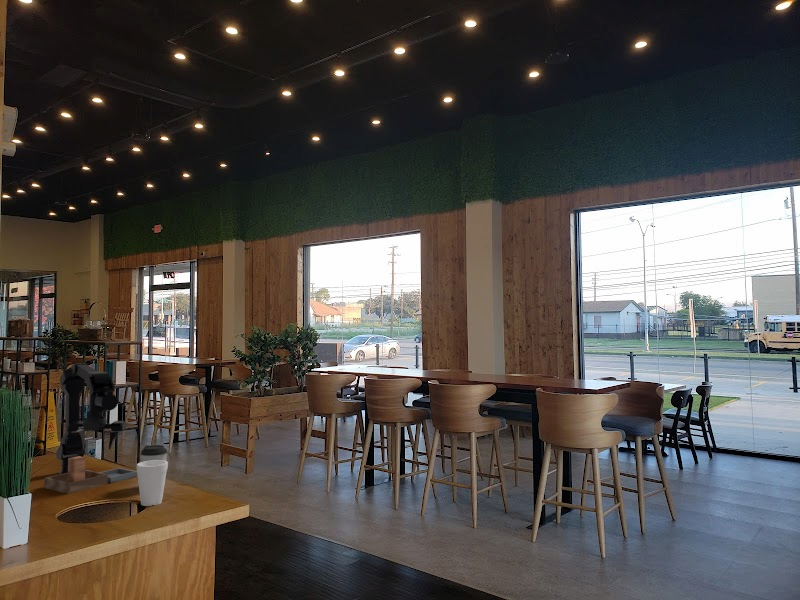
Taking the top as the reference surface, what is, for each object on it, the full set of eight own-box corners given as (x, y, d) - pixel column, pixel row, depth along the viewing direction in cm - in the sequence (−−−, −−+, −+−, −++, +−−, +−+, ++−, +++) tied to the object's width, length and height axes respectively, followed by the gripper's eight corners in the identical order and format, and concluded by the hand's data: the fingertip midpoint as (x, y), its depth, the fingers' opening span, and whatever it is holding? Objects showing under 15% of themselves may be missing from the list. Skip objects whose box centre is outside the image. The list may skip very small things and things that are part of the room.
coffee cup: (171, 484, 215) (172, 443, 215) (158, 491, 206) (159, 448, 206) (147, 483, 215) (148, 443, 216) (134, 490, 206) (135, 448, 207)
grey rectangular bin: (93, 480, 219) (93, 473, 220) (119, 474, 229) (119, 467, 229) (110, 484, 214) (111, 477, 214) (137, 478, 223) (137, 471, 224)
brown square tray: (43, 489, 208) (44, 477, 208) (83, 479, 220) (83, 469, 220) (67, 495, 200) (68, 483, 201) (107, 485, 213) (107, 474, 213)
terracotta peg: (67, 486, 210) (68, 458, 210) (78, 483, 213) (79, 456, 214) (73, 487, 208) (74, 459, 208) (84, 485, 211) (85, 457, 212)
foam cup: (136, 509, 186) (137, 467, 187) (134, 501, 195) (135, 461, 195) (168, 505, 191) (169, 464, 191) (165, 497, 199) (166, 459, 199)
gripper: (61, 410, 205) (60, 455, 204) (118, 410, 208) (116, 454, 207) (73, 406, 216) (72, 448, 215) (127, 405, 219) (125, 447, 218)
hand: (96, 449), depth 214 cm, fingers open, 9 cm apart
